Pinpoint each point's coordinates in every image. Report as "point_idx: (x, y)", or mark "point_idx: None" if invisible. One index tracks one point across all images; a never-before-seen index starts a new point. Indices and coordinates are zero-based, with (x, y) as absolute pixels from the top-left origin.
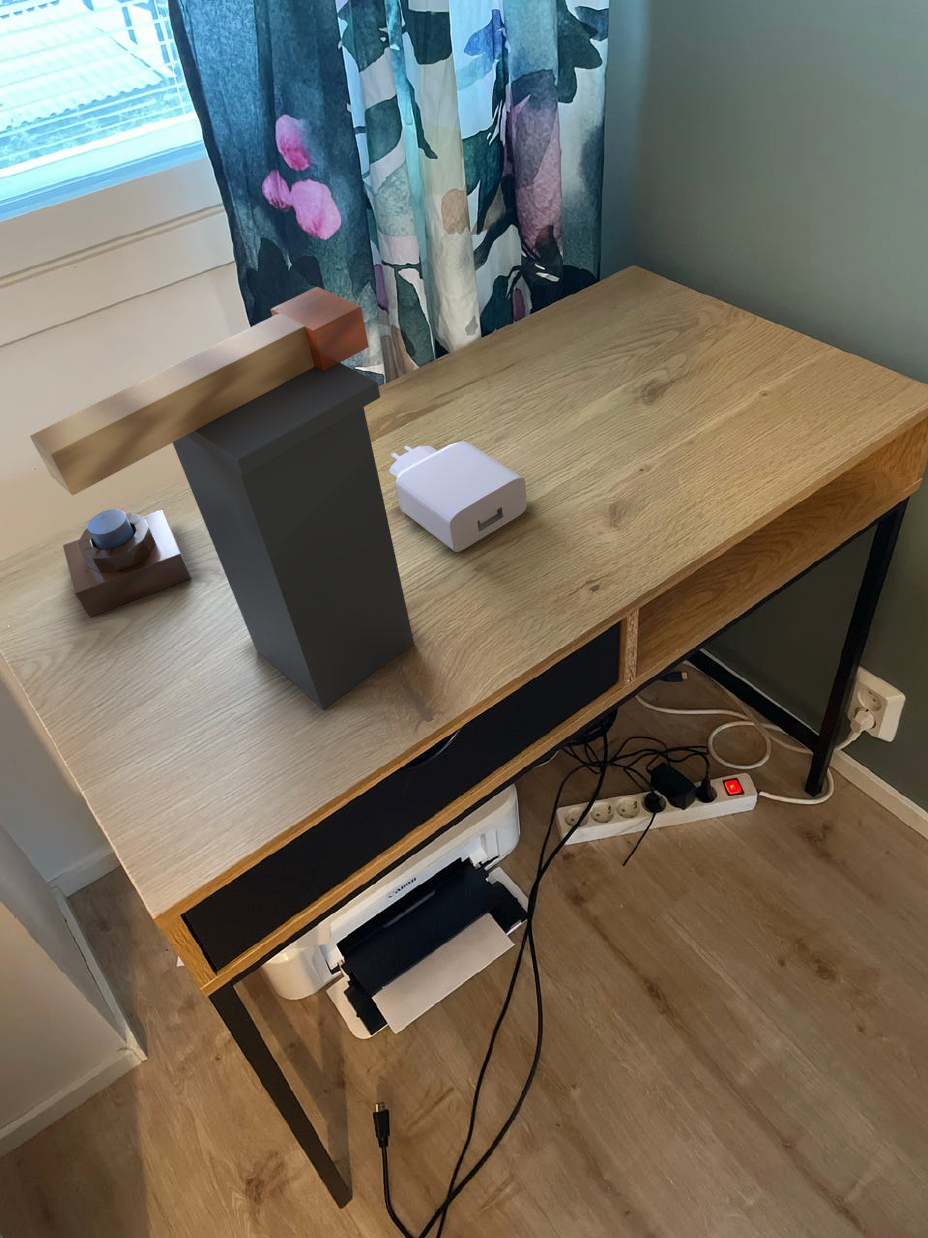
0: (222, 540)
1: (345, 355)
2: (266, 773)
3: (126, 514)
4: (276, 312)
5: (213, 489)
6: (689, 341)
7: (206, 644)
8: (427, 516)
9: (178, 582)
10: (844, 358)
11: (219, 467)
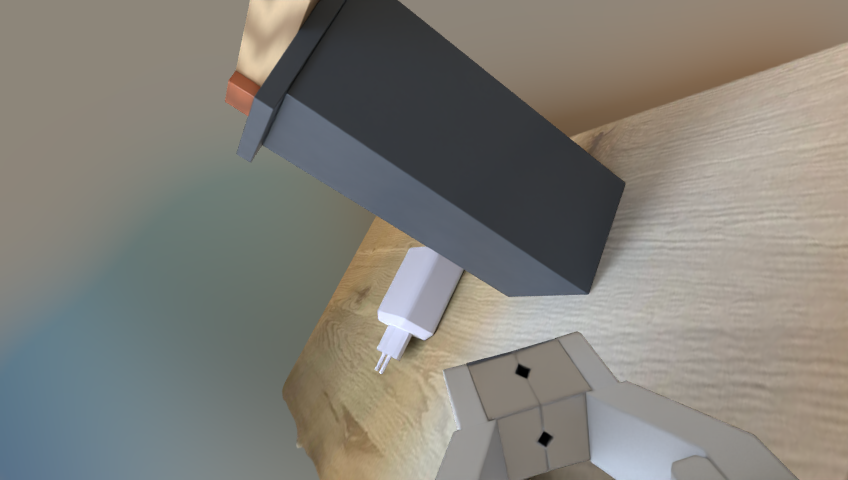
0: (449, 162)
1: None
2: (712, 141)
3: None
4: (234, 74)
5: (388, 83)
6: (335, 311)
7: (599, 350)
8: (436, 283)
9: (527, 478)
10: (361, 243)
11: (365, 23)
